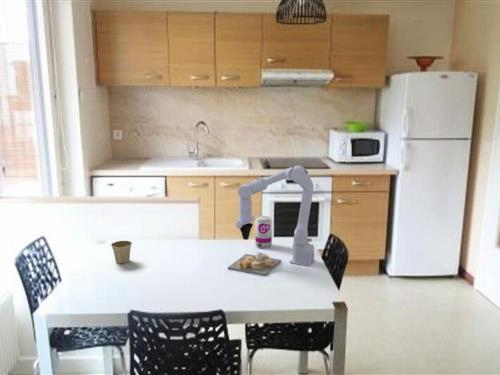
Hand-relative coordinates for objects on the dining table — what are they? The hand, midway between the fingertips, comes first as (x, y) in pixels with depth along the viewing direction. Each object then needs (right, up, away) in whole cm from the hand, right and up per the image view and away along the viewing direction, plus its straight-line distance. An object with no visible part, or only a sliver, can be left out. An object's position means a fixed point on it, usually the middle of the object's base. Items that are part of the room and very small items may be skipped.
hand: (245, 239), depth 200 cm
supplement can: (+9, -6, +20) cm, 22 cm away
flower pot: (-57, -11, +1) cm, 58 cm away
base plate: (+4, -11, -5) cm, 13 cm away
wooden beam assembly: (+4, -10, -7) cm, 13 cm away
